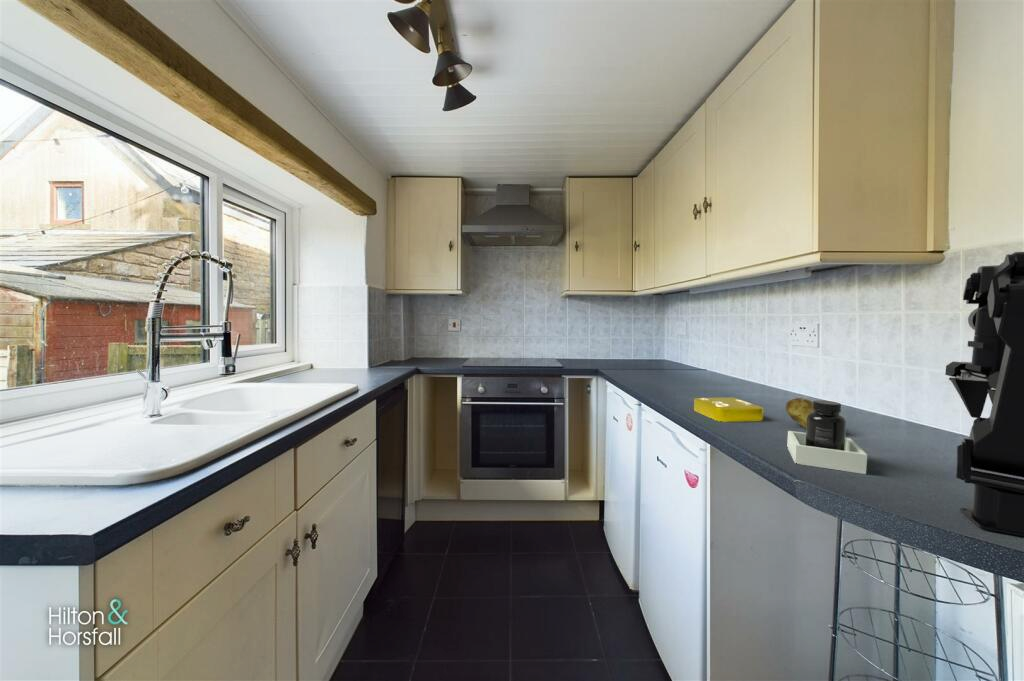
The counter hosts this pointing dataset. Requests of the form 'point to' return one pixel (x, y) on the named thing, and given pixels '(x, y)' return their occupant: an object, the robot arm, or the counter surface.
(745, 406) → the element tile
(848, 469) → the sage tray
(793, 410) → the potato
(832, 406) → the supplement bottle
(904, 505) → the counter surface
